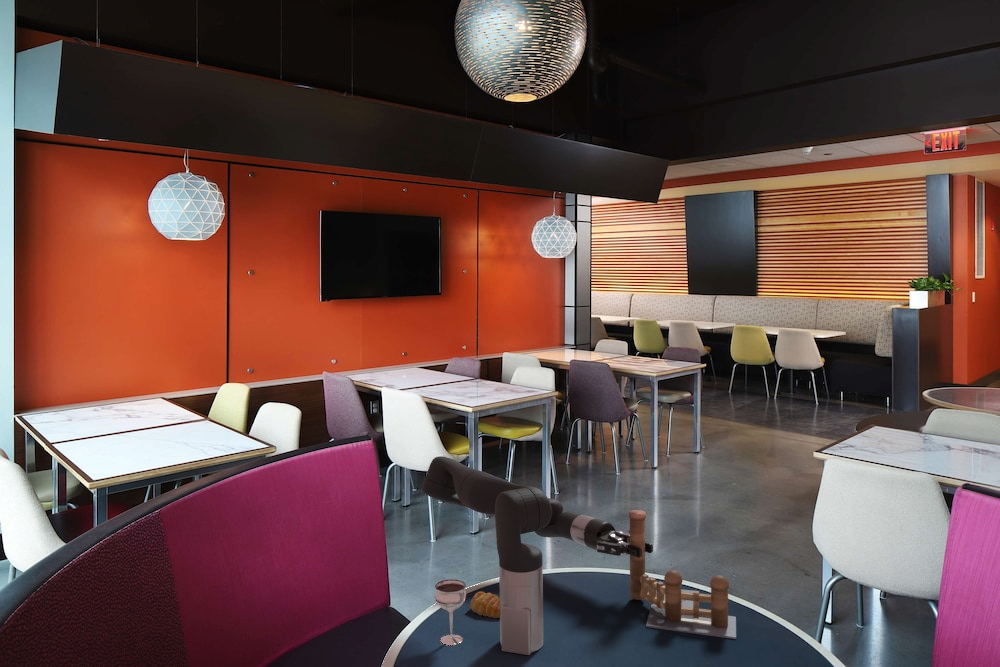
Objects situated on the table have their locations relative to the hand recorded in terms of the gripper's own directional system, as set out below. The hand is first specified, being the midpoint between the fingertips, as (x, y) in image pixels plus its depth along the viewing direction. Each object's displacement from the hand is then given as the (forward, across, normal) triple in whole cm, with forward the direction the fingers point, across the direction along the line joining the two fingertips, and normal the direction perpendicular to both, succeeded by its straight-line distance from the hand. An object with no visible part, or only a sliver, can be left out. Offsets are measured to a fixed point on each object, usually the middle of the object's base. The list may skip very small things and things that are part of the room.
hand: (646, 550), depth 165 cm
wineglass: (-17, +45, -13) cm, 50 cm away
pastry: (-23, +30, -14) cm, 40 cm away
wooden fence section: (+1, +1, -12) cm, 12 cm away
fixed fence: (+13, -1, -13) cm, 19 cm away
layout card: (+10, -5, -13) cm, 17 cm away
